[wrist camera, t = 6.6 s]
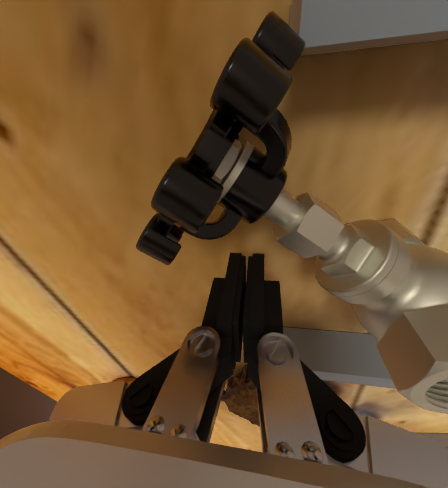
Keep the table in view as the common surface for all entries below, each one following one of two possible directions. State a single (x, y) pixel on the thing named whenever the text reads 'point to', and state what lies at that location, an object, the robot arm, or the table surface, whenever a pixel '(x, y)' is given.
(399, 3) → the dock cradle
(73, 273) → the table surface
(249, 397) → the decorative rock
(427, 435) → the banded square pillar
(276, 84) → the valve
